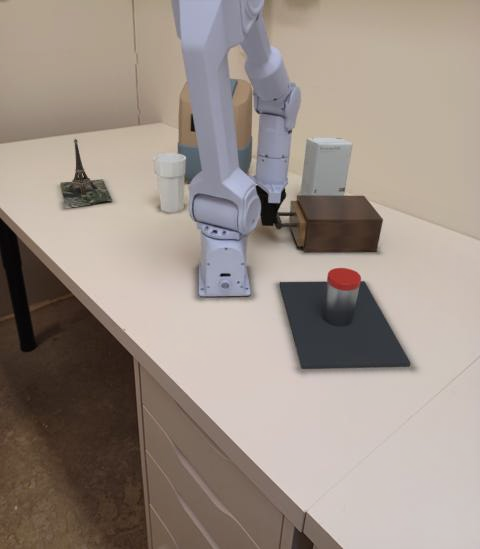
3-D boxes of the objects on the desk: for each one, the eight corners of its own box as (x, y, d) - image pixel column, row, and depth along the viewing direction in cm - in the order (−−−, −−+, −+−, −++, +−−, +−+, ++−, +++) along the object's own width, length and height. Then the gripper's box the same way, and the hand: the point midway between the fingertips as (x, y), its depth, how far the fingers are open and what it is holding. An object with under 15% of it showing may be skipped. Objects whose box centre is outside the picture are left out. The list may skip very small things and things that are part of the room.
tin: (355, 327, 66) (363, 285, 63) (323, 325, 66) (329, 283, 63) (350, 309, 70) (358, 268, 67) (320, 307, 70) (326, 266, 67)
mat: (409, 366, 61) (410, 362, 60) (301, 368, 60) (302, 365, 59) (363, 284, 78) (364, 281, 77) (279, 284, 77) (279, 281, 76)
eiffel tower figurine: (113, 203, 104) (107, 141, 97) (65, 208, 100) (54, 145, 94) (102, 180, 116) (96, 125, 109) (59, 185, 112) (49, 127, 105)
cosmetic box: (309, 213, 102) (317, 144, 95) (297, 203, 107) (304, 137, 100) (343, 210, 105) (354, 142, 97) (331, 200, 110) (340, 135, 102)
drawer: (275, 246, 86) (277, 222, 84) (268, 222, 95) (270, 200, 93) (364, 246, 88) (368, 222, 85) (349, 223, 97) (353, 200, 94)
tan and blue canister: (174, 185, 115) (170, 83, 103) (192, 164, 129) (190, 72, 117) (242, 191, 112) (246, 88, 101) (253, 170, 127) (257, 77, 115)
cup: (152, 212, 100) (149, 161, 95) (161, 200, 106) (158, 152, 100) (183, 215, 100) (181, 163, 94) (190, 203, 105) (189, 154, 100)
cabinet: (304, 252, 87) (308, 219, 83) (293, 225, 97) (296, 195, 93) (376, 252, 88) (383, 219, 84) (358, 225, 98) (364, 195, 94)
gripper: (248, 141, 89) (244, 209, 96) (252, 165, 76) (248, 241, 83) (285, 143, 89) (279, 210, 96) (296, 167, 77) (287, 242, 84)
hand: (267, 224), depth 90 cm, fingers closed, pressing on drawer
